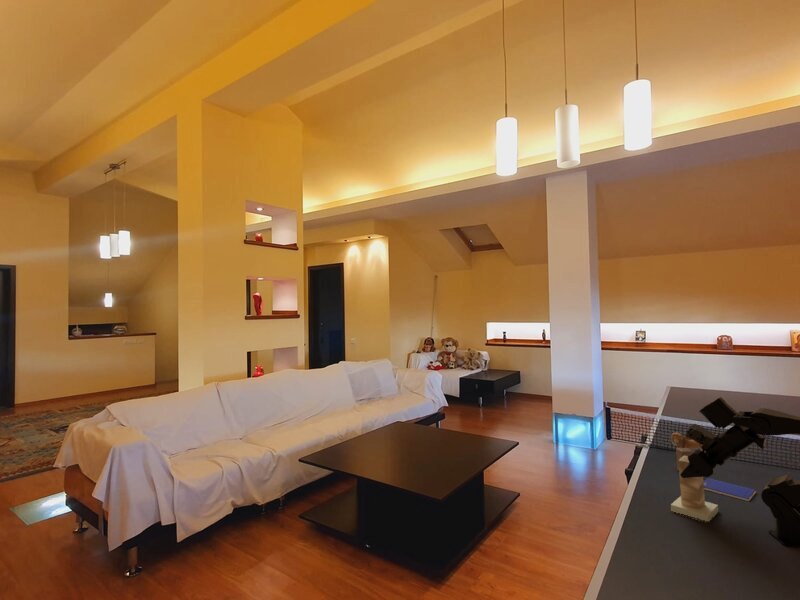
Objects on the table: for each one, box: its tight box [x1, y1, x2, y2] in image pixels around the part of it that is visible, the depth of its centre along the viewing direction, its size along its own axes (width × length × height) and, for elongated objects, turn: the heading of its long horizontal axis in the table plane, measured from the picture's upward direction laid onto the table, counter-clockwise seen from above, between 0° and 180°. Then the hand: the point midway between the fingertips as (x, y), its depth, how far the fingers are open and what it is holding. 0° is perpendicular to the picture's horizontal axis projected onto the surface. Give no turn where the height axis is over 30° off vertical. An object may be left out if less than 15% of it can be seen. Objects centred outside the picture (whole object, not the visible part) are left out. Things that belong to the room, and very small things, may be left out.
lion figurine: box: [670, 432, 702, 451], centre depth 161 cm, size 15×5×9 cm, turn 73°
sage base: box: [670, 495, 719, 522], centre depth 122 cm, size 9×9×2 cm
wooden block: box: [675, 447, 694, 472], centre depth 148 cm, size 4×4×8 cm
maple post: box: [678, 456, 706, 510], centre depth 122 cm, size 4×4×13 cm
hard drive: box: [703, 477, 756, 502], centre depth 133 cm, size 2×8×12 cm
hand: (686, 471), depth 123 cm, fingers open, 9 cm apart
